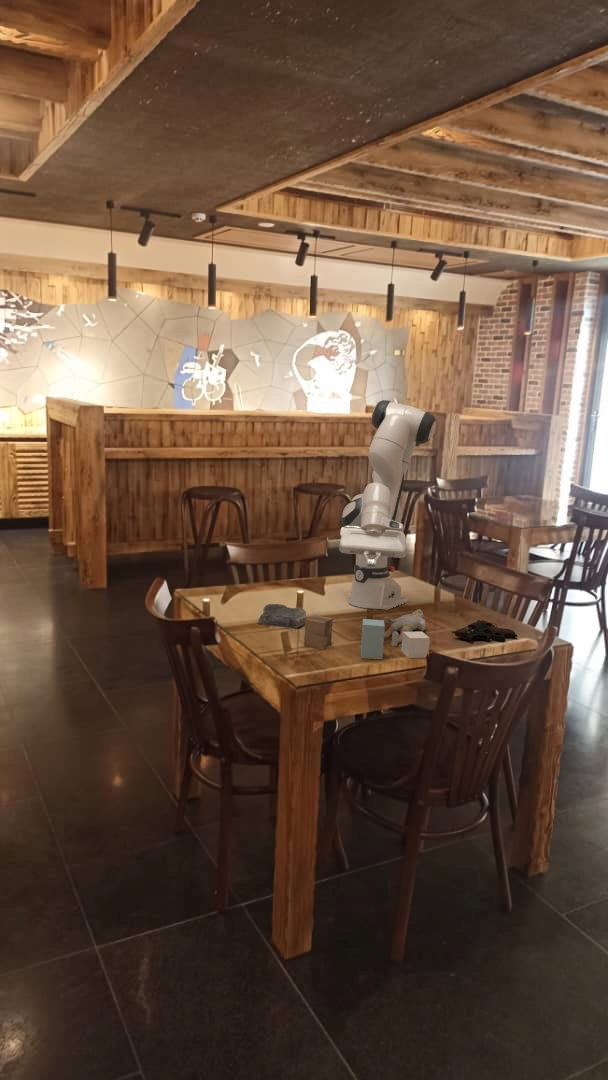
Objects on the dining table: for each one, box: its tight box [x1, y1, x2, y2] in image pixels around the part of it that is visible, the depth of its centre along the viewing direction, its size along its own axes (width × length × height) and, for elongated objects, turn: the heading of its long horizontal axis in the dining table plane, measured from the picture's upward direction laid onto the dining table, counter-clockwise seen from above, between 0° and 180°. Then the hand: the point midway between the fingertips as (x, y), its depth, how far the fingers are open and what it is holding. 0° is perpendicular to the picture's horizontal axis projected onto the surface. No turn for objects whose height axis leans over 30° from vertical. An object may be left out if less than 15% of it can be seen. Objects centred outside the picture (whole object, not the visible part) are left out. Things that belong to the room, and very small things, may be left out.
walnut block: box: [303, 614, 334, 650], centre depth 231 cm, size 6×6×8 cm
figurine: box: [383, 608, 427, 647], centre depth 248 cm, size 13×6×30 cm
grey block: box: [401, 631, 431, 659], centre depth 227 cm, size 6×6×6 cm
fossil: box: [257, 603, 307, 630], centre depth 255 cm, size 15×16×4 cm
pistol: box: [451, 619, 519, 643], centre depth 247 cm, size 4×19×15 cm
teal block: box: [360, 618, 386, 660], centre depth 223 cm, size 6×6×10 cm
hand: (371, 565), depth 233 cm, fingers closed
